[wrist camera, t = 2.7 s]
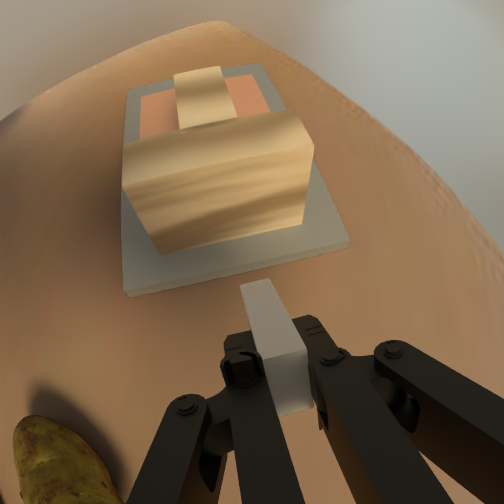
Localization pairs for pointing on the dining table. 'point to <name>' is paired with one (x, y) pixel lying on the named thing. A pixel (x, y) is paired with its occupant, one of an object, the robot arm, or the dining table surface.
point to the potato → (59, 466)
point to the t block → (217, 169)
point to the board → (231, 251)
